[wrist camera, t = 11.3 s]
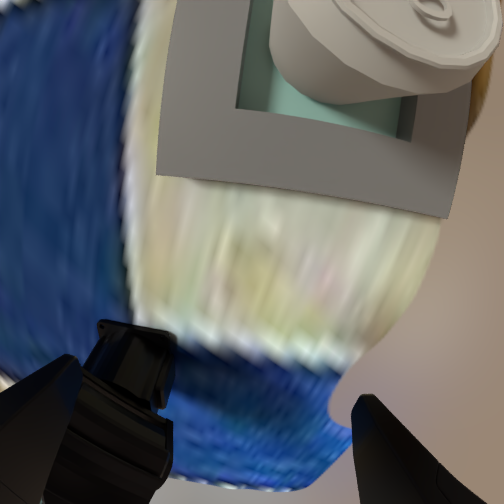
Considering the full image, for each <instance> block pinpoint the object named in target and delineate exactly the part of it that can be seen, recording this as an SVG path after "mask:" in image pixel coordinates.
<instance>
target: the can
mask: <svg viewBox="0 0 504 504" xmlns="http://www.w3.org/2000/svg"><path fill="white" fill-rule="evenodd" d="M502 27H503V22H502V14H501V8H500V1H499V0H274V1H273V10H272V18H271V27H270V39H269V48H270V52H271V55H272V58H273V62H274V65H275V66H276V68H277V69H278V71H279V72H280V73H281V75H282V76H283V78H284V79H285V81H286V82H288V83H289V84H290V85H291V86H292V87H294V88H295V89H296V90H297V91H298V92H300V93H301V94H303V95H305V96H307V97H310V98H312V99H314V100H316V101H318V102H322V103H328V104H335V105H345V104H353V103H360V102H366V101H373V100H380V99H387V98H395V97H403V96H412V95H423V94H435V93H447V92H449V91H451V90H454V89H456V88H458V87H460V86H462V85H464V84H466V83H469V82H470V81H471V80H472V79H473V77H474V76H475V75H476V74H477V72H478V71H479V70H480V69H481V67H482V66H483V65H484V63H485V62H487V60H488V59H489V58H490V56H491V55H492V54H493V53H494V51H495V50H496V49H497V47H498V46H499V42H500V37H501V32H502Z"/></svg>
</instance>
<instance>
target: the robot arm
mask: <svg viewBox="0 0 504 504" xmlns="http://www.w3.org/2000/svg"><path fill="white" fill-rule="evenodd" d="M97 328H98V333H99V338H100V339H99V340H98V342H97V344H96V345H95V347H94V348H93V350H92V352H91V353H90V355H89V357H88V358H87V360H86V362H85V363H84V365H83V367H82V366H80V365H81V364H79V361H78V358H77V357H76V356H73V355H70V354H64V355H62V356H60V357H59V358H57V359H55V360H54V361H52V362H50V363H49V364H47V365H45V366H44V367H42V368H40V369H39V370H37V371H36V372H34V373H32V374H31V375H29V376H27V377H26V378H24V379H22V380H21V381H19V382H17V383H16V384H14V385H12V386H11V387H9V388H7V389H6V390H4V391H2V392H1V393H0V504H149V502H150V500H151V498H152V497H153V495H154V493H155V491H156V490H157V489H159V488H160V487H161V486H162V485H163V484H164V482H165V481H166V479H167V478H168V475H169V473H170V471H171V468H172V464H173V421H171V420H169V419H167V418H166V419H165V418H163V417H161V416H159V415H158V414H157V412H158V409H162V410H163V409H165V408H166V406H167V402H168V399H169V395H170V392H171V388H172V385H173V381H174V378H175V363H174V356H173V354H170V336H169V334H168V333H167V332H165V331H160V330H154V329H149V328H143V327H138V326H133V325H128V324H123V323H118V322H113V321H108V320H104V319H101V320H99V322H98V323H97ZM161 336H162V337H164V338H162V337H161ZM351 422H352V443H353V457H354V464H355V471H356V477H357V484H358V491H359V497H360V504H487V503H486V502H484V501H483V500H482V499H481V498H479V497H478V496H477V495H475V494H474V493H473V492H471V491H470V490H469V489H468V488H467V487H465V486H464V485H463V484H462V483H461V482H459V481H458V480H457V479H456V478H455V477H454V476H453V475H452V474H450V473H449V471H448V470H447V469H446V468H445V467H444V466H443V465H441V463H439V462H438V461H437V459H436V458H435V457H434V456H433V455H432V454H431V453H430V452H429V451H428V450H427V449H426V448H425V447H424V446H423V445H422V444H421V443H420V442H419V441H418V440H417V439H416V438H415V437H414V436H413V435H412V434H411V432H410V431H409V430H408V429H407V428H406V427H405V426H404V425H403V424H402V423H401V422H400V421H399V420H398V419H397V418H396V417H395V416H394V415H393V414H392V413H391V412H390V411H389V410H388V409H387V408H386V406H385V405H384V404H383V403H382V402H381V401H380V400H379V399H378V398H377V397H376V396H375V395H373V394H362V395H360V396H359V398H358V400H357V402H356V403H355V405H354V407H353V409H352V413H351Z"/></svg>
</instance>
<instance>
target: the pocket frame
mask: <svg viewBox="0 0 504 504" xmlns="http://www.w3.org/2000/svg"><path fill="white" fill-rule="evenodd" d="M273 1H274V0H177V5H176V10H175V15H174V20H173V26H172V31H171V37H170V43H169V49H168V56H167V63H166V70H165V77H164V85H163V94H162V103H161V112H160V123H159V135H158V148H157V164H156V175H162V176H174V177H186V178H197V179H207V180H217V181H226V182H235V183H244V184H252V185H260V186H267V187H275V188H282V189H289V190H296V191H303V192H309V193H316V194H322V195H328V196H334V197H340V198H346V199H352V200H357V201H363V202H368V203H373V204H378V205H384V206H389V207H394V208H398V209H403V210H408V211H413V212H417V213H422V214H426V215H431V216H435V217H440V218H444V219H448V216H449V212H450V208H451V205H452V201H453V197H454V192H455V189H456V184H457V180H458V175H459V171H460V165H461V160H462V155H463V149H464V144H465V138H466V131H467V124H468V116H469V108H470V98H471V86H472V80H471V81H470V82H469V83H466V84H464V85H462V86H460V87H458V88H456V89H454V90H451V91H449V92H447V93H435V94H423V95H412V96H403V97H395V98H387V99H380V100H373V101H366V102H360V103H353V104H345V105H335V104H328V103H322V102H318V101H316V100H314V99H312V98H310V97H307V96H305V95H303V94H301V93H300V92H298V91H297V90H296V89H295V88H294V87H292V86H291V85H290V84H289V83H288V82H286V81H285V79H284V78H283V76H282V75H281V73H280V72H279V71H278V69H277V68H276V66H275V65H274V62H273V58H272V55H271V52H270V48H269V39H270V27H271V18H272V10H273Z"/></svg>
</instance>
